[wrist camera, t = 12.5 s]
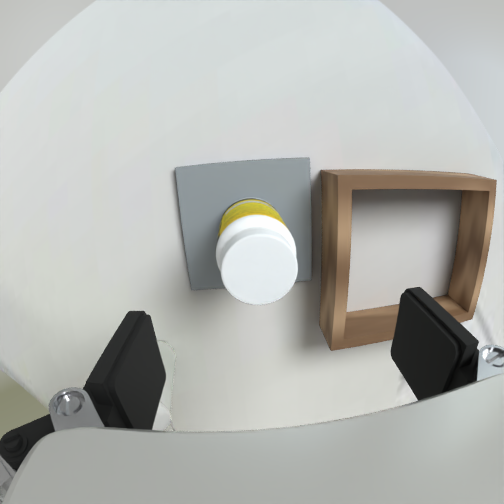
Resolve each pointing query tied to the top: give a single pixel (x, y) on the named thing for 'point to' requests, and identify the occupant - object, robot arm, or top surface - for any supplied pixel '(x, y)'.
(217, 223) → the slate mat
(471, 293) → the walnut box
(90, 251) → the top surface
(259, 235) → the supplement bottle
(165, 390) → the milkshake
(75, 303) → the top surface
